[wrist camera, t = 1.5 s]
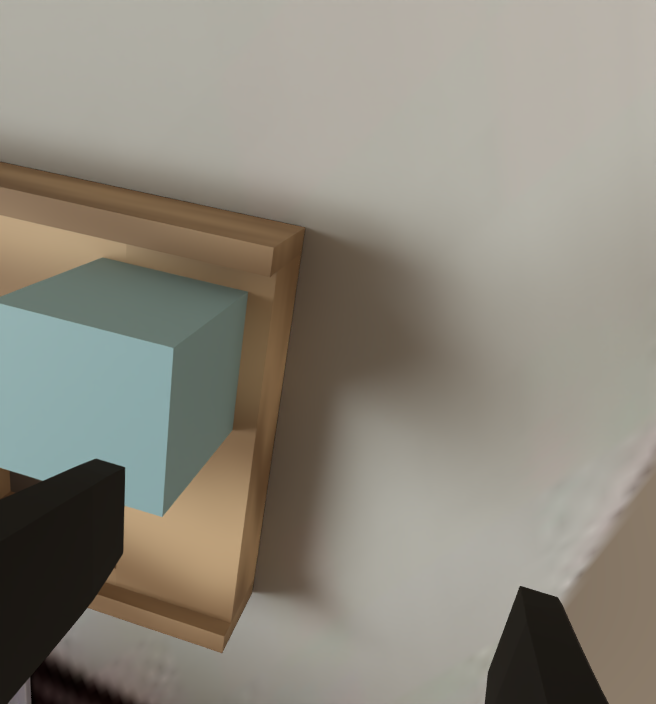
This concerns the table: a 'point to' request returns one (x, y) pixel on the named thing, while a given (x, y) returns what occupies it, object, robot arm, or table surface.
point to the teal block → (119, 375)
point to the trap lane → (251, 399)
